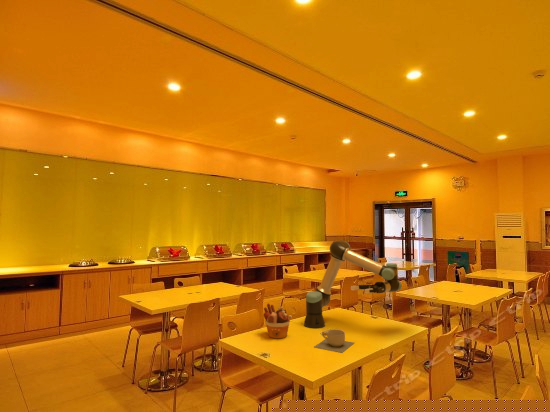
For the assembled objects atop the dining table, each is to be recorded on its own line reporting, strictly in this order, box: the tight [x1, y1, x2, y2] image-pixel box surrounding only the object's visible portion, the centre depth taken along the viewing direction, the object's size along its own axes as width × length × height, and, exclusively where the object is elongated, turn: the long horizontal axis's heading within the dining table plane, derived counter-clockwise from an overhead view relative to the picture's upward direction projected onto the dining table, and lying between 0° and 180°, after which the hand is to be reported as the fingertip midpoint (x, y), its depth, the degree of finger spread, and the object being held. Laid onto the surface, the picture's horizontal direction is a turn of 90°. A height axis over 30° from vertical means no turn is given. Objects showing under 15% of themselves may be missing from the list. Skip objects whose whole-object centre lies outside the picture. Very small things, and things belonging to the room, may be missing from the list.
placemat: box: [313, 338, 355, 354], centre depth 204 cm, size 18×20×1 cm
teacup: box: [321, 328, 346, 347], centre depth 204 cm, size 14×11×8 cm
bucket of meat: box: [263, 303, 293, 340], centre depth 223 cm, size 20×16×20 cm
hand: (357, 289), depth 221 cm, fingers open, 13 cm apart
